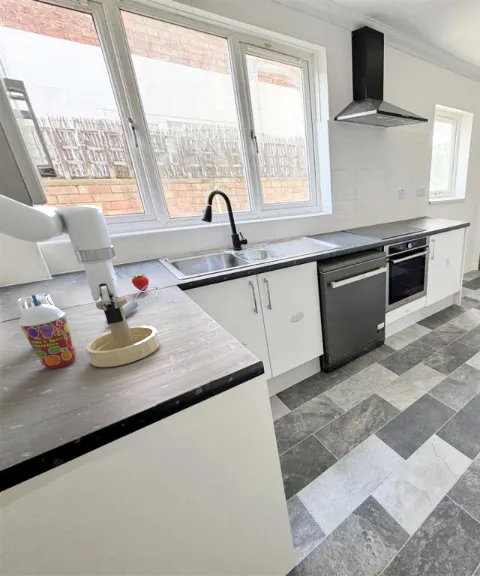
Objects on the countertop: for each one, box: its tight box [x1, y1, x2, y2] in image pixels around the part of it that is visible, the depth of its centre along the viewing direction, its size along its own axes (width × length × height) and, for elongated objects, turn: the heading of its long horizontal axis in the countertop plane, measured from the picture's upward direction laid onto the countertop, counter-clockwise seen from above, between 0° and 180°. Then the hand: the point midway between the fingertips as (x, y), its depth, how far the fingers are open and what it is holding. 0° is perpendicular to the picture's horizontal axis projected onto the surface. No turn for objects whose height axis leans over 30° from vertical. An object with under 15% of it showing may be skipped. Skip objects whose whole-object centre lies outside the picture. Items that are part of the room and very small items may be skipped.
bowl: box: [84, 325, 161, 368], centre depth 88 cm, size 16×16×5 cm
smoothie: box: [18, 294, 77, 369], centre depth 82 cm, size 8×8×20 cm
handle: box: [95, 296, 133, 349], centre depth 86 cm, size 5×6×15 cm
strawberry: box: [130, 272, 150, 292], centre depth 139 cm, size 6×8×10 cm
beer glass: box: [16, 293, 55, 315], centre depth 94 cm, size 7×7×15 cm
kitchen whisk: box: [104, 283, 163, 328], centre depth 119 cm, size 6×34×6 cm, turn 9°
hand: (116, 318), depth 86 cm, fingers closed on handle, 5 cm apart
